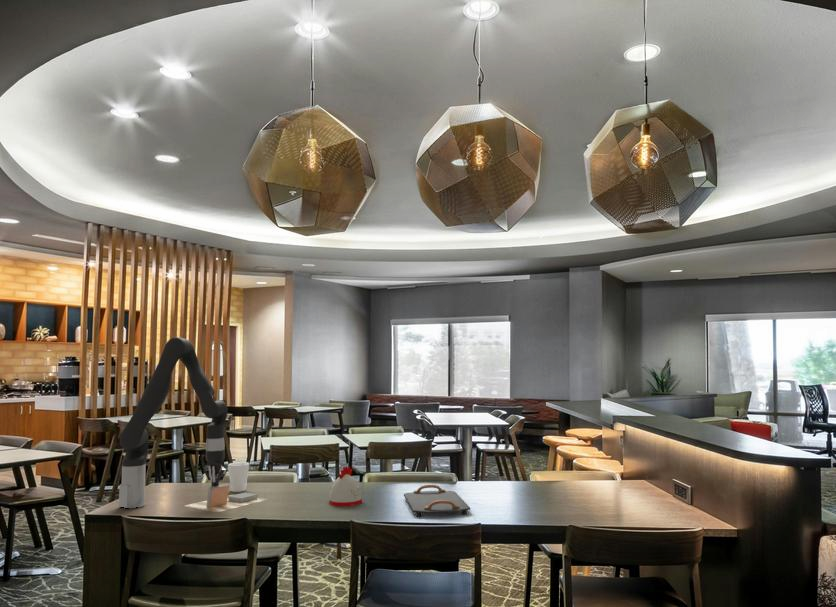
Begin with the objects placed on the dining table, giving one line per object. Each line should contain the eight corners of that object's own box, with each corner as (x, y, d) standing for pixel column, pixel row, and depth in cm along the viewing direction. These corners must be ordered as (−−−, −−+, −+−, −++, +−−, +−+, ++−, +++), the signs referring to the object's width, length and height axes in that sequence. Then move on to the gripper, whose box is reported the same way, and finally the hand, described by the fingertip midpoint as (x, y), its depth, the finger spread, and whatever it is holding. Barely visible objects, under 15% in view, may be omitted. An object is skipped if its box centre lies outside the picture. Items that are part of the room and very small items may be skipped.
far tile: (228, 500, 274) (240, 503, 269) (228, 496, 274) (241, 498, 270) (244, 496, 281) (257, 498, 277) (244, 492, 281) (257, 494, 277)
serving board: (473, 517, 245) (472, 501, 245) (413, 520, 242) (413, 503, 242) (453, 496, 283) (453, 482, 284) (402, 498, 280) (401, 484, 280)
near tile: (209, 508, 261) (211, 488, 261) (206, 506, 262) (208, 487, 262) (227, 503, 268) (229, 485, 268) (224, 502, 269) (226, 483, 269)
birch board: (217, 514, 253) (217, 512, 253) (182, 508, 266) (182, 505, 266) (268, 501, 276) (268, 499, 276) (234, 496, 288) (234, 493, 288)
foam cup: (241, 495, 290) (241, 465, 291) (223, 494, 293) (224, 465, 294) (252, 490, 299) (253, 462, 300) (235, 489, 302) (236, 461, 303)
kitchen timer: (368, 501, 274) (368, 465, 275) (347, 507, 262) (347, 470, 264) (343, 497, 281) (343, 463, 283) (322, 504, 270) (322, 467, 271)
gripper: (197, 449, 269) (197, 491, 267) (218, 451, 261) (218, 494, 260) (212, 446, 275) (212, 488, 273) (233, 448, 268) (232, 491, 266)
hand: (215, 491), depth 267 cm, fingers closed
